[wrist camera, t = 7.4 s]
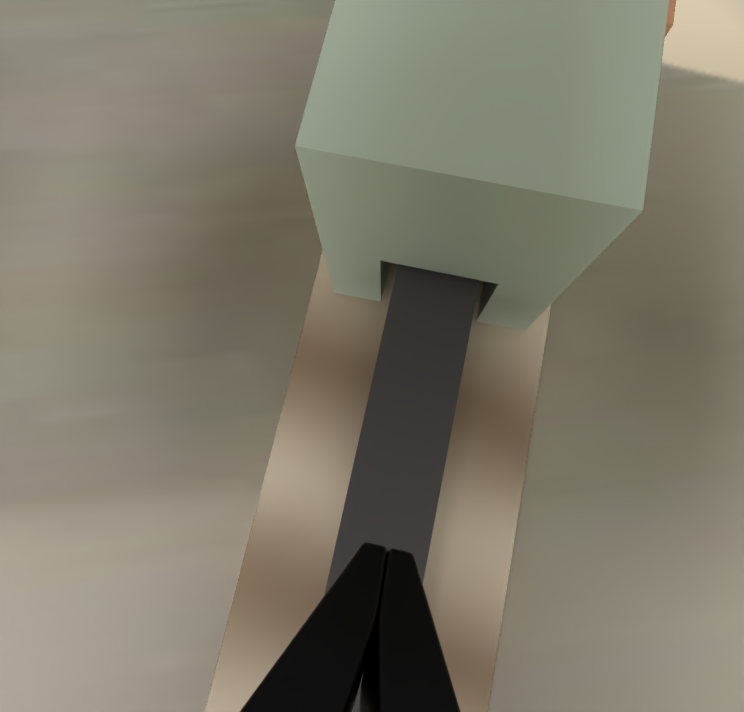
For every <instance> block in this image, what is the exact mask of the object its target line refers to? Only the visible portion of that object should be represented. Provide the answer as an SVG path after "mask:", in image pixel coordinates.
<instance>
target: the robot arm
mask: <svg viewBox="0 0 744 712" xmlns="http://www.w3.org/2000/svg"><path fill="white" fill-rule="evenodd" d="M362 674H363V675H362ZM361 678H362V682H361ZM360 682H361V688H360V698H359V708H358V712H461V711H460V708H459V705H458V701H457V698H456V694H455V691H454V688H453V684H452V681H451V678H450V674H449V671H448V668H447V664H446V661H445V657H444V654H443V651H442V647H441V644H440V641H439V637H438V634H437V631H436V627H435V624H434V620H433V617H432V614H431V610H430V607H429V604H428V600H427V597H426V594H425V590H424V587H423V583H422V580H421V577H420V573H419V570H418V567H417V563H416V560H415V557H414V555H413V554H412V553H410V552H407V551H403V550H398V549H394V548H391V549H389V550H388V552H387V548H386V547H384V546H381V545H377V544H373V543H369V542H365V543H363V544H362V545H361V546H360V547H359V549H358V550H357V551H356V553H355V554H354V555H353V557H352V558H351V560H350V561H349V562H348V564H347V565H346V566H345V568H344V569H343V571H342V572H341V573H340V575H339V576H338V577H337V579H336V580H335V582H334V583H333V584H332V586H331V587H330V588H329V590H328V591H327V593H326V594H325V595H324V597H323V598H322V599H321V601H320V602H319V603H318V605H317V606H316V608H315V609H314V610H313V612H312V613H311V614H310V616H309V617H308V619H307V620H306V621H305V623H304V624H303V625H302V627H301V628H300V630H299V631H298V632H297V634H296V635H295V636H294V638H293V639H292V641H291V642H290V643H289V645H288V646H287V647H286V649H285V650H284V652H283V653H282V654H281V656H280V657H279V658H278V660H277V661H276V663H275V664H274V665H273V667H272V668H271V669H270V671H269V672H268V673H267V675H266V676H265V678H264V679H263V680H262V682H261V683H260V684H259V686H258V687H257V689H256V690H255V691H254V693H253V694H252V695H251V697H250V698H249V700H248V701H247V702H246V704H245V705H244V706H243V708H242V709H241V711H240V712H352V711H353V707H354V704H355V701H356V697H357V694H358V690H359V686H360Z"/></svg>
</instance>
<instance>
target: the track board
mask: <svg viewBox="0 0 744 712" xmlns="http://www.w3.org/2000/svg"><path fill="white" fill-rule="evenodd" d="M397 266H398V264H395V263H390V264H389V268H388V272H387V277H386V281H385V286H384V290H383V294H382V299H381V302H379V301H374V300H369V299H364V298H359V297H354V296H350V295H345V294H340V293H335V292H334V291H333V287H332V283H331V279H330V276H329V272H328V268H327V264H326V261H325V257H324V253H323V250H322V254H321V258H320V262H319V266H318V270H317V274H316V278H315V282H314V285H313V289H312V293H311V297H310V301H309V305H308V309H307V313H306V317H305V321H304V325H303V328H302V332H301V336H300V340H299V344H298V348H297V352H296V356H295V360H294V364H293V368H292V372H291V375H290V379H289V383H288V387H287V391H286V395H285V399H284V403H283V407H282V411H281V415H280V418H279V422H278V426H277V430H276V434H275V438H274V442H273V446H272V450H271V454H270V458H269V462H268V465H267V469H266V473H265V477H264V481H263V485H262V489H261V493H260V497H259V501H258V505H257V508H256V512H255V516H254V520H253V524H252V528H251V532H250V536H249V540H248V544H247V548H246V552H245V555H244V559H243V563H242V567H241V571H240V575H239V579H238V583H237V587H236V591H235V595H234V598H233V602H232V606H231V610H230V614H229V618H228V622H227V626H226V630H225V634H224V638H223V642H222V645H221V649H220V653H219V657H218V661H217V665H216V669H215V673H214V677H213V681H212V685H211V689H210V692H209V696H208V700H207V704H206V708H205V712H240V711H241V709H242V708H243V706H244V705H245V704H246V702H247V701H248V700H249V698H250V697H251V695H252V694H253V693H254V691H255V690H256V689H257V687H258V686H259V684H260V683H261V682H262V680H263V679H264V678H265V676H266V675H267V673H268V672H269V671H270V669H271V668H272V667H273V665H274V664H275V663H276V661H277V660H278V658H279V657H280V656H281V654H282V653H283V652H284V650H285V649H286V647H287V646H288V645H289V643H290V642H291V641H292V639H293V638H294V636H295V635H296V634H297V632H298V631H299V630H300V628H301V627H302V625H303V624H304V623H305V621H306V620H307V619H308V617H309V616H310V614H311V613H312V612H313V610H314V609H315V608H316V606H317V605H318V603H319V602H320V601H321V599H322V598H323V597H324V594H325V589H326V585H327V580H328V576H329V571H330V567H331V562H332V558H333V553H334V549H335V544H336V540H337V535H338V531H339V526H340V522H341V517H342V513H343V508H344V504H345V500H346V495H347V491H348V486H349V482H350V477H351V473H352V468H353V464H354V459H355V455H356V450H357V446H358V441H359V437H360V432H361V428H362V423H363V419H364V414H365V410H366V405H367V401H368V396H369V392H370V387H371V383H372V378H373V374H374V369H375V365H376V360H377V356H378V351H379V347H380V342H381V338H382V333H383V329H384V324H385V320H386V316H387V311H388V307H389V302H390V298H391V293H392V289H393V284H394V280H395V275H396V271H397ZM483 282H484V281H481V280H480V282H479V287H478V292H477V298H476V303H475V308H474V314H473V319H472V324H471V330H470V335H469V340H468V346H467V351H466V356H465V362H464V367H463V372H462V378H461V383H460V388H459V394H458V399H457V404H456V410H455V415H454V420H453V426H452V431H451V436H450V442H449V447H448V452H447V458H446V463H445V468H444V474H443V479H442V484H441V490H440V495H439V500H438V506H437V511H436V516H435V522H434V527H433V532H432V538H431V543H430V548H429V554H428V559H427V564H426V570H425V575H424V580H423V587H424V590H425V594H426V597H427V600H428V604H429V607H430V610H431V614H432V617H433V620H434V624H435V627H436V631H437V634H438V637H439V641H440V644H441V647H442V651H443V654H444V657H445V661H446V664H447V668H448V671H449V674H450V678H451V681H452V684H453V688H454V691H455V694H456V698H457V701H458V705H459V708H460V711H461V712H488V706H489V700H490V693H491V687H492V681H493V674H494V668H495V661H496V655H497V649H498V642H499V636H500V630H501V623H502V617H503V610H504V604H505V598H506V591H507V585H508V578H509V572H510V566H511V559H512V553H513V547H514V540H515V534H516V527H517V521H518V515H519V508H520V502H521V495H522V489H523V483H524V476H525V470H526V464H527V457H528V451H529V444H530V438H531V432H532V425H533V419H534V412H535V406H536V400H537V393H538V387H539V381H540V374H541V368H542V361H543V355H544V349H545V342H546V336H547V329H548V323H549V317H550V310H551V305H550V306H549V307H548V308H547V309H546V310H545V311H544V312H543V313H542V314H541V315H540V316H539V317H538V318H537V319H536V320H535V321H534V322H533V323H532V324H531V325H530V326H529V327H528V328H527V329H526V330H525V331H521V330H516V329H512V328H507V327H502V326H497V325H492V324H487V323H482V322H477V321H476V319H477V314H478V309H479V303H480V298H481V293H482V287H483Z"/></svg>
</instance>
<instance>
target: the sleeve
mask: <svg viewBox="0 0 744 712" xmlns="http://www.w3.org/2000/svg"><path fill="white" fill-rule="evenodd" d="M668 6H669V0H335V4H334V7H333V11H332V14H331V18H330V21H329V25H328V29H327V32H326V36H325V39H324V43H323V47H322V50H321V54H320V57H319V61H318V64H317V68H316V72H315V75H314V79H313V82H312V86H311V89H310V93H309V97H308V100H307V104H306V107H305V111H304V115H303V118H302V122H301V125H300V129H299V132H298V136H297V140H296V143H295V149H296V152H297V156H298V160H299V163H300V167H301V171H302V175H303V178H304V182H305V186H306V190H307V193H308V197H309V201H310V205H311V208H312V212H313V216H314V220H315V223H316V227H317V231H318V234H319V238H320V242H321V246H322V249H323V253H324V257H325V261H326V264H327V268H328V272H329V276H330V279H331V283H332V287H333V291H334V292H335V293H340V294H345V295H350V296H354V297H359V298H364V299H369V300H374V301H379V302H381V299H382V294H383V290H384V286H385V281H386V277H387V272H388V268H389V264H390V263H395V264H400V265H405V266H410V267H415V268H421V269H426V270H431V271H436V272H441V273H446V274H451V275H456V276H461V277H466V278H471V279H476V280H481V281H484V282H483V287H482V293H481V298H480V303H479V309H478V314H477V319H476V321H477V322H482V323H487V324H492V325H497V326H502V327H507V328H512V329H516V330H521V331H525V330H526V329H527V328H528V327H529V326H530V325H531V324H532V323H533V322H534V321H535V320H536V319H537V318H538V317H539V316H540V315H541V314H542V313H543V312H544V311H545V310H546V309H547V308H548V307H549V306H550V305H551V304H552V303H553V302H554V301H555V300H556V299H557V298H558V297H559V296H560V295H561V294H562V293H563V292H564V291H565V290H566V289H567V288H568V287H569V286H570V285H571V284H572V283H573V282H574V281H575V279H576V278H577V277H578V276H579V275H580V274H581V273H582V272H583V271H584V270H585V269H586V268H587V267H588V266H589V265H590V264H591V263H592V262H593V261H594V260H595V259H596V258H597V257H598V256H599V255H600V254H601V253H602V252H603V251H604V250H605V249H606V248H607V247H608V246H609V245H610V244H611V243H612V242H613V241H614V240H615V239H616V238H617V237H618V236H619V235H620V234H621V233H622V232H623V231H624V230H625V229H626V228H627V227H628V226H629V225H630V224H631V223H632V222H633V221H634V219H635V218H636V217H637V216H638V215H639V214H640V213H641V212H642V211H643V207H644V199H645V191H646V183H647V175H648V167H649V159H650V151H651V143H652V135H653V127H654V119H655V111H656V103H657V95H658V86H659V78H660V70H661V62H662V54H663V46H664V38H665V30H666V22H667V14H668Z"/></svg>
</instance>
